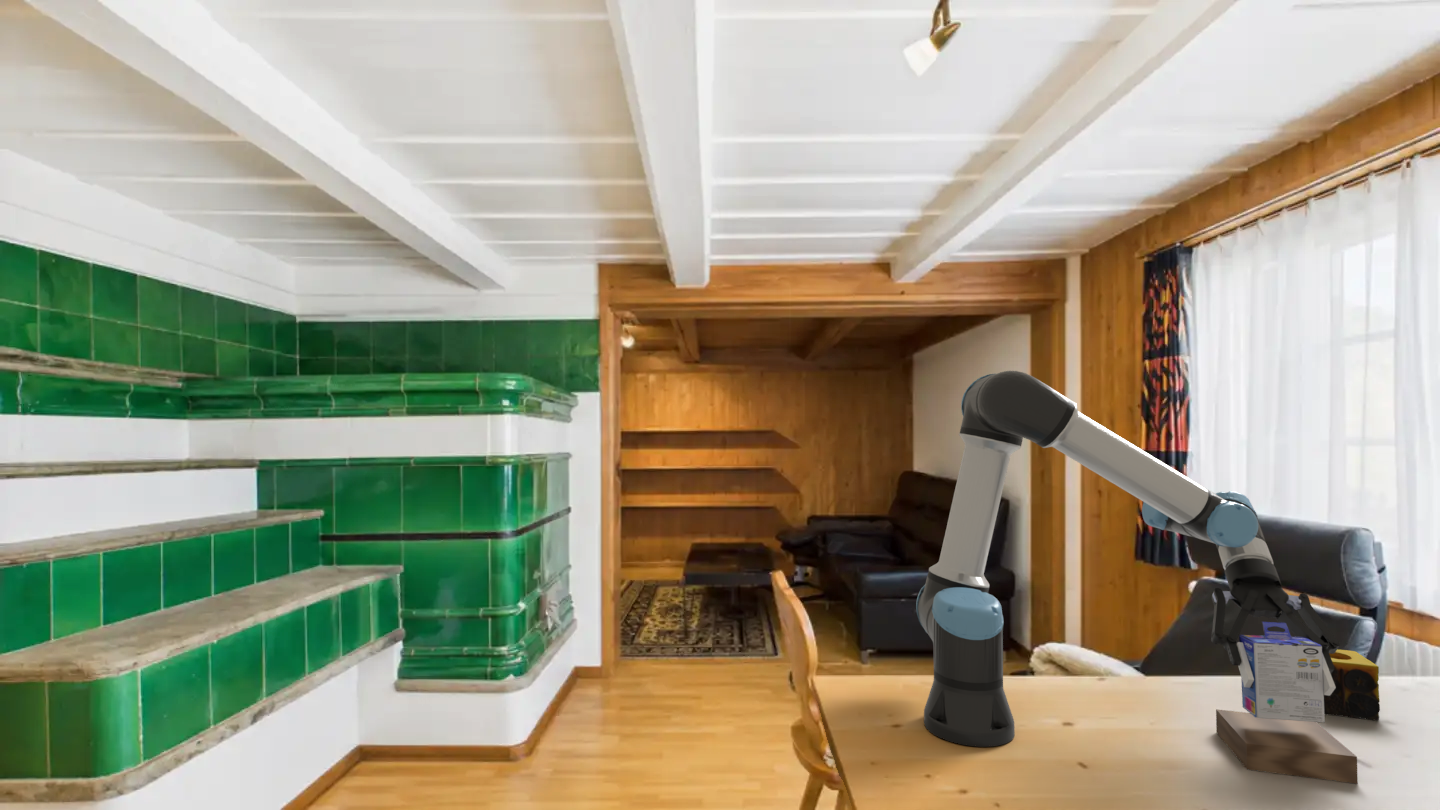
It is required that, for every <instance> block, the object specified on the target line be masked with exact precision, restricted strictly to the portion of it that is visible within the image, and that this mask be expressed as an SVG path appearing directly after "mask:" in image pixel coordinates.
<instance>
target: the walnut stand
mask: <svg viewBox="0 0 1440 810" xmlns="http://www.w3.org/2000/svg"><path fill="white" fill-rule="evenodd" d="M1215 714H1216V715H1215V717H1216V719H1215V721H1216V723H1215V724H1216V726H1215V727H1216V729H1215V730H1216V734H1217V733H1218V734H1217V735H1218V736H1219V737H1220V738H1221V740H1222V741H1223V742H1224V743H1225V745H1226V744H1227V745H1228V746H1227V747H1228V749H1229V750H1231V752H1232V753H1233V754H1234V756H1235V757H1236V756H1237V757H1236V758H1237V759H1238V760H1239V762H1240V761H1241V762H1240V763H1241V764H1242V765H1243V766H1244V768H1245V769H1246V770H1248V769H1249V770H1250V771H1256V770H1258V772H1263V771H1266V772H1265V773H1273V774H1280V775H1286V774H1287V775H1288V776H1293V777H1295V776H1296V777H1303V778H1309V777H1311V779H1317V778H1318V779H1319V780H1325V779H1326V781H1332V780H1336V781H1335V782H1341V783H1348V782H1349V783H1350V784H1355V785H1356V784H1358V781H1359V780H1358V756H1357V755H1356V754H1355V753H1353V752H1352V751H1351V750H1350V749H1348V748H1347V747H1346V746H1345V745H1344V744H1342V742H1340V741H1339V740H1338V739H1337V738H1335V737H1334V736H1333V735H1332V734H1331V733H1330V732H1329V731H1327V730H1326V729H1325V728H1324V727H1323V726H1321V725H1320V724H1319V722H1309V721H1295V720H1281V719H1266V718H1256V717H1254V716H1253V715H1252V714H1251V713H1249V712H1243V711H1235V710H1225V709H1216V708H1215ZM1287 775H1286V776H1287Z"/></svg>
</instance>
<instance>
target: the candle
mask: <svg viewBox="0 0 1440 810" xmlns="http://www.w3.org/2000/svg"><path fill="white" fill-rule="evenodd" d="M1329 655H1330V657H1331V660H1332V662H1333V665H1334V670H1333V672H1332V673H1331V676H1332V679H1333V682H1334V684H1335V687H1336V688H1335V689H1334V691H1333V692H1332V694H1331V695H1330V696H1329V695H1324V714H1325V715H1327V714H1328V716H1334V717H1335V716H1336V717H1347V718H1352V719H1361V720H1362V719H1364V720H1369V721H1379V720H1380V714H1379V713H1380V712H1381V706H1380V702H1381V701H1380V691H1379V690H1380V688H1379V687H1380V685H1379V680H1380V679H1379V673H1380V671H1379V670H1380V668H1379V666H1378V665H1377V664H1375V663H1374V662H1372V661H1371V660H1369V659H1367V658H1366V657H1365V656H1363V655H1362V654H1360V653H1358V652H1357V651H1355V650H1349V649H1348V650H1347V649H1339V648H1338V649H1337V650H1336V652H1335V653H1334V654H1330V653H1329Z"/></svg>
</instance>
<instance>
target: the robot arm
mask: <svg viewBox="0 0 1440 810" xmlns="http://www.w3.org/2000/svg"><path fill="white" fill-rule="evenodd" d="M960 408H961V413H962V414H961V415H962V420H961V425H960V430H959V434H958V435H959V437H960V438H961V440H962V442H963V443H964V449H963V453H962V456H961V457H962V459H961V462H960V467H959V471H958V475H957V480H956V484H955V489H954V492H953V497H952V502H951V505H950V510H949V515H948V519H947V523H946V524H947V525H946V529H945V533H944V536H943V542H942V545H941V546H942V547H941V551H940V555H939V559H938V562H937V563H935V564H933V565H932V566H930V567H928V572H927V576H926V580H925V584H924V585H923V586H922V587H921V588H920V590H919V592H918V595H917V598H916V603H915V604H916V605H915V608H916V615H917V618H918V622H919V624H920V626H921V627H922V628H923V629H924V632H925V633H926V634H928V635H927V636H929V638H930V640H931V641H932V645H933V681H932V685H931V687H930V691H929V694H928V697H927V700H926V704H925V705H924V709H923V724H925V725H924V727H925V726H926V727H925V729H926V730H927V729H928V730H929V731H928V730H927V731H928V732H929V733H931V734H932V733H933V734H932V735H934V736H936V737H937V736H938V738H940V739H942V738H943V740H944V739H945V741H947V742H951V743H953V742H954V744H957V743H958V745H963V746H970V747H978V748H979V747H983V748H984V747H985V748H988V747H997V746H1002V745H1006V744H1007V743H1009V742H1012V740H1013V739H1014V738H1015V734H1016V733H1015V719H1014V716H1013V713H1012V710H1011V707H1010V704H1009V702H1008V699H1007V695H1006V692H1005V690H1004V649H1003V648H1004V645H1003V644H1004V643H1003V642H1004V641H1003V639H1004V635H1003V633H1004V632H1003V631H1004V623H1005V622H1004V615H1003V610H1002V609H1003V608H1002V605H1001V603H1000V601H999V600H998V598H996V597H995V596H994V595H993V594H990V593H989V590H990V583H989V581H988V580H987V578H986V577H985V574H984V573H985V571H986V566H987V561H988V556H989V552H990V548H991V543H992V540H993V534H994V531H995V530H994V529H995V525H996V522H997V516H998V513H999V507H1000V503H1001V500H1002V494H1003V491H1004V485H1005V482H1006V477H1007V473H1008V468H1009V463H1010V459H1011V456H1012V455H1013V453H1015V452H1017V451H1018V450H1020V449H1021V448H1022V445H1023V439H1025V440H1028V441H1031V442H1032V443H1035V444H1036V445H1037V446H1039V447H1041V448H1043V449H1046V448H1053V449H1056V450H1057V451H1058V452H1060V453H1062V454H1064V455H1065V456H1067V457H1069V458H1070V459H1071V460H1073V461H1075V462H1077V463H1079V464H1081V465H1082V466H1083V467H1085V468H1087V469H1088V470H1090V471H1092V472H1093V473H1094V474H1097V475H1098V476H1100V477H1102V478H1103V479H1105V480H1106V481H1108V482H1109V483H1111V484H1113V485H1115V486H1117V487H1119V489H1121V490H1123V491H1125V492H1127V493H1129V494H1130V495H1132V496H1133V497H1135V498H1137V499H1138V500H1140V501H1142V502H1143V504H1142V508H1141V514H1142V518H1143V519H1142V520H1143V521H1144V523H1145V524H1146V525H1148V526H1149V527H1152V528H1157V529H1159V530H1162V531H1168V532H1172V533H1178V534H1180V535H1184V536H1188V537H1191V538H1195V539H1197V540H1198V539H1199V540H1202V541H1205V542H1208V543H1212V544H1215V546H1216V549H1217V551H1218V554H1219V558H1220V561H1221V564H1222V568H1223V569H1224V574H1225V578H1226V580H1227V584H1228V585H1227V586H1228V588H1229V591H1228V590H1223V589H1222V588H1219V587H1216V588H1214V590H1213V593H1212V595H1211V600H1212V603H1213V606H1214V607H1213V608H1214V609H1213V620H1212V630H1211V639H1210V640H1211V642H1212V643H1213V644H1215V645H1222V646H1223V649H1224V650H1225V651H1227V654H1228V658H1229V662H1230V663H1231V665H1232V666H1238V670H1239V673H1240V677H1242V681H1243V684H1244V687H1247V688H1250V687H1251V685H1252V683H1253V681H1254V678H1253V674H1252V671H1251V668H1250V665H1249V661H1248V658H1247V655H1246V651H1245V648H1244V645H1243V642H1239V641H1237V640H1238V639H1239V635H1241V634H1240V633H1241V631H1242V629H1243V627H1244V625H1245V623H1246V621H1247V619H1248V617H1249V615H1250V616H1251V617H1253V618H1260V617H1265V618H1267V619H1275V620H1276V621H1277V623H1286V624H1287V627H1288V629H1289V632H1290V633H1292V634H1293V635H1294V636H1295V637H1305V638H1307V639H1309V640H1311V641H1313V642H1315V643H1317V644H1320V645H1321V646H1322V665H1323V690H1324V695H1329V696H1330V695H1331V694H1332V692H1333V691H1334V689H1335V688H1336V687H1335V684H1334V682H1333V679H1332V676H1331V673H1332V672H1333V670H1334V665H1333V662H1332V660H1331V657H1330V655H1329V653H1330V654H1334V653H1335V652H1336V650H1337V649H1338V650H1339V647H1340V646H1341V642H1340V641H1339V640H1338V639H1337V637H1336V636H1335V635H1334V634H1333V632H1332V631H1331V629H1330V628H1329V627H1328V625H1327V624H1326V622H1324V620H1323V619H1322V618H1321V616H1320V615H1319V614H1318V613H1317V611H1316V610H1315V609H1314V608H1313V606H1312V604H1311V601H1310V598H1309V596H1308V594H1307V593H1303V592H1302V593H1300V594H1299V595H1293V594H1291V595H1290V594H1288V593H1287V591H1285V590H1284V589H1283V586H1282V582H1281V579H1280V576H1279V574H1278V571H1277V568H1276V567H1275V565H1274V560H1273V557H1272V555H1271V552H1270V549H1269V547H1268V545H1267V543H1266V539H1265V536H1264V533H1263V530H1262V528H1261V525H1260V521H1259V519H1258V514H1257V511H1256V510H1255V508H1254V507H1253V504H1252V502H1251V501H1250V499H1249V497H1247V496H1246V495H1245V494H1242V493H1240V492H1237V491H1233V490H1231V491H1228V492H1225V491H1220V492H1219V491H1218V492H1213V491H1212V490H1209V489H1207V488H1206V487H1204V486H1203V485H1201V484H1199V483H1198V482H1196V481H1194V480H1193V479H1192V478H1190V477H1188V476H1187V475H1185V474H1183V473H1181V472H1179V470H1176V469H1175V468H1173V467H1171V466H1170V465H1168V464H1166V463H1165V462H1163V461H1162V460H1160V459H1158V458H1156V457H1154V456H1153V455H1151V454H1150V453H1148V452H1147V451H1144V450H1143V449H1141V448H1140V447H1138V446H1136V445H1135V444H1133V443H1131V442H1130V441H1128V440H1126V439H1125V438H1123V437H1121V436H1119V434H1116V433H1115V432H1113V431H1112V430H1110V429H1108V428H1106V426H1104V425H1102V424H1100V423H1098V422H1096V421H1095V420H1093V419H1091V418H1090V417H1089V416H1086V415H1085V414H1083V413H1082V412H1080V411H1079V410H1078V406H1077V402H1075V401H1073V400H1072V399H1070V398H1069V397H1066V396H1065V395H1063V394H1061V392H1059V391H1057V390H1055V389H1054V388H1052V387H1051V386H1049V385H1048V384H1046V383H1044V382H1042V381H1041V380H1040V379H1038V378H1036V377H1035V376H1033V375H1030V374H1028V373H1026V372H1023V371H1018V370H1005V371H1001V372H998V373H990V374H986V375H982V376H981V377H979V378H977V379H975V380H974V381H973V382H972V383H971V384H970V385H968V387H967V388H966V389H965V391H964V393H963V396H962V398H961V404H960ZM1229 600H1231V601H1232V602H1233V603H1234V604H1235V605H1237V607H1239V608H1240V611H1239V612H1238V614H1237V617H1236V619H1235V621H1234V624H1233V626H1232V627H1231V628H1230V629H1231V630H1230V631H1229V634H1228V635H1227V634H1224V629H1225V628H1224V627H1225V616H1226V607H1227V606H1226V605H1227V604H1228V602H1229ZM1287 604H1290V605H1291V606H1292V607H1293V609H1294V610H1296V611H1297V612H1298V614H1299V616H1300V617H1301V619H1302V620H1303V621H1304V622H1305V623H1304V622H1303V621H1302V620H1301V619H1300V618H1299V617H1298V616H1297V615H1296V614H1295V613H1294V612H1293V610H1292V609H1291V608H1290V607H1289V606H1288V605H1287ZM1242 681H1241V682H1242Z"/></svg>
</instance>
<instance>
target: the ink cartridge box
mask: <svg viewBox="0 0 1440 810" xmlns="http://www.w3.org/2000/svg"><path fill="white" fill-rule="evenodd" d="M1261 626H1262V629H1263V635H1260V634H1259V635H1257V634H1256V635H1255V634H1239V636H1238V642H1243V645H1244V648H1245V651H1246V655H1247V658H1248V661H1249V665H1250V668H1251V671H1252V674H1253V678H1254V681H1253V683H1252V685H1251V687H1250V688H1247V687H1244V684H1243V681H1242V677H1241V676H1240V677H1241V697H1242V701H1241V703H1242V704H1241V705H1242V708H1243V709H1244V710H1245V711H1247V713H1251V714H1252V715H1253V716H1254V717H1256V718H1266V719H1281V720H1295V721H1309V722H1316V723H1325V721H1326V720H1325V719H1326V718H1325V716H1326V714H1324V690H1323V665H1322V646H1321V645H1320V644H1317V643H1315V642H1313V641H1311V640H1309V639H1307V638H1305V637H1296V636H1295V635H1294V636H1293V635H1291V631H1290V630H1289V629H1288V627H1287V624H1286V623H1279V622H1274V621H1271V622H1270V621H1261ZM1272 627H1276V628H1280V629H1283V631H1272V630H1271V631H1270V630H1268V628H1272Z"/></svg>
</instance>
